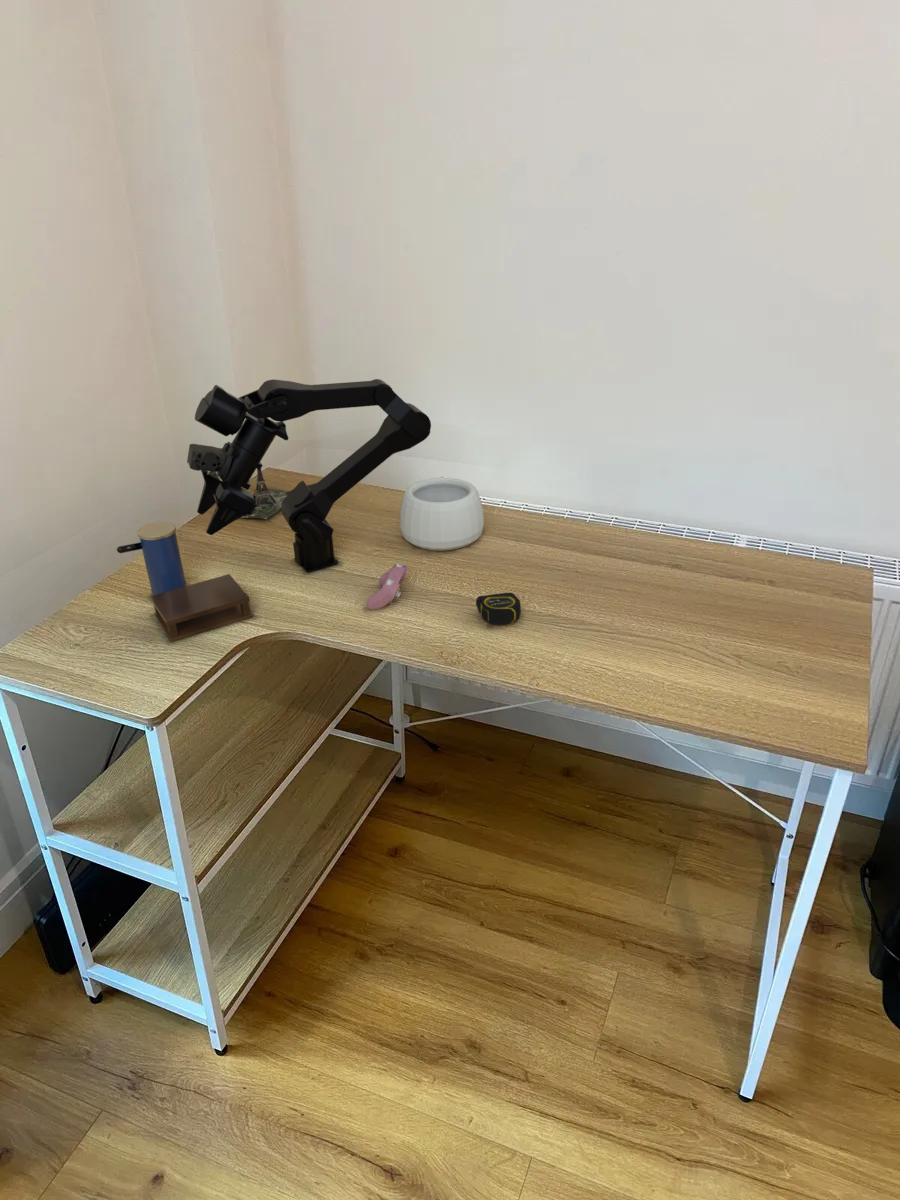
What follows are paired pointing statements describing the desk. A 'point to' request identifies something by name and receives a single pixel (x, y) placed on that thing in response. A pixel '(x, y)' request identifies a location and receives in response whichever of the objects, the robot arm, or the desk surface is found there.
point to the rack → (201, 607)
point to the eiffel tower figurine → (266, 499)
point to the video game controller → (388, 587)
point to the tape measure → (499, 608)
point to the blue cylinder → (159, 556)
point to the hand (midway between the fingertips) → (204, 523)
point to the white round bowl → (441, 514)
